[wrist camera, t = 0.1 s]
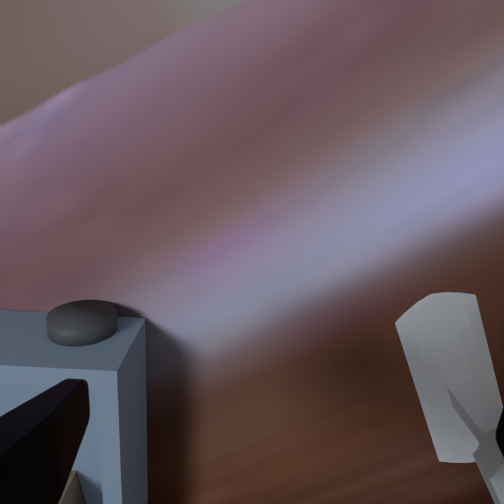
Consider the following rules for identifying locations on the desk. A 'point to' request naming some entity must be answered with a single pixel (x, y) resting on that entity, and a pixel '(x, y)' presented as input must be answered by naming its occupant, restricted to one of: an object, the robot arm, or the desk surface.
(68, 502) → the brown cube
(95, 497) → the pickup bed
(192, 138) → the desk surface
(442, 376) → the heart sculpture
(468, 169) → the desk surface
